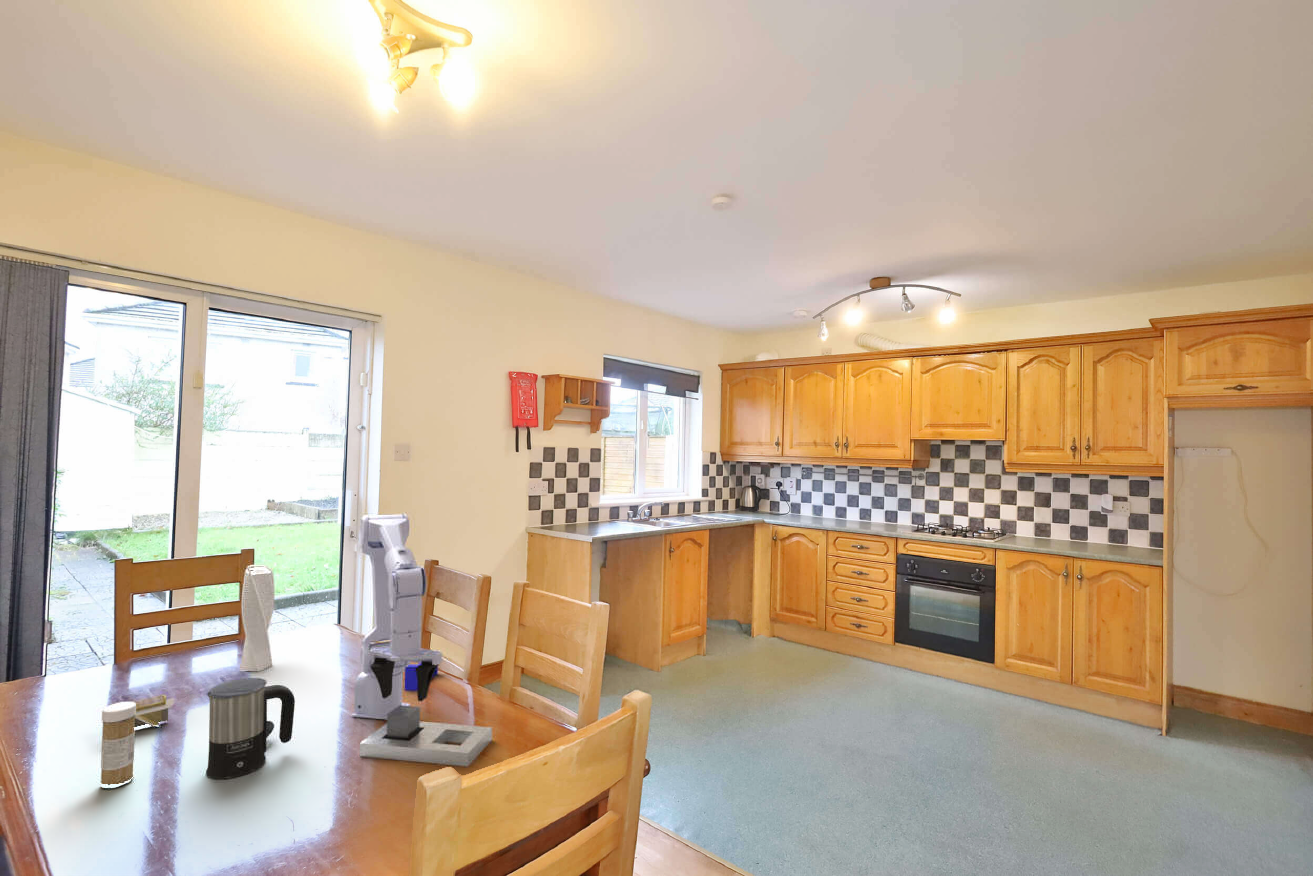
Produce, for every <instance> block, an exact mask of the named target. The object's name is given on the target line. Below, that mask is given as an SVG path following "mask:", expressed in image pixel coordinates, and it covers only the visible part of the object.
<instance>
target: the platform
mask: <svg viewBox="0 0 1313 876" xmlns="http://www.w3.org/2000/svg"><path fill="white" fill-rule="evenodd" d="M153 699H154V700H153ZM175 702H176V701H175V699H174V698H168V699H167V696H166V695H165V694H162V695H158V696H152V697H148V698H147V700H146V698H144V699H140V700H136V701H135V700H134V703H136V714H135V715H136V716H135V721H134V725H135V727H137V726H141V725H145V724H149V725H151V726H153V725H159V723H158V722H161V721H166V720H168V721H169V708H171V707H172V706H173V705H174V704H175Z"/></svg>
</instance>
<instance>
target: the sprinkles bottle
mask: <svg viewBox="0 0 1313 876" xmlns="http://www.w3.org/2000/svg"><path fill="white" fill-rule="evenodd" d="M135 714H136V702H135V701H122V702H121V701H120V702H117V703H113V704H110V705H108V706H105V707H104V708H103V709H102V711H101V721H102V736H101V739H102V740H101V751H100V752H101V753H100V769H101V772H100V773H101V774H100V783H102V784H108V785H110V784H119V783H124V782H125V781H128V780H130V779H131V778H132V777H133V776H134V761H135V741H136V740H135V736H136V735H135V734H136V731H134V727H135V725H134V721H135V716H136V715H135ZM133 778H134V777H133Z"/></svg>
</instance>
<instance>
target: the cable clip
mask: <svg viewBox="0 0 1313 876" xmlns="http://www.w3.org/2000/svg"><path fill="white" fill-rule="evenodd" d="M434 651H435V652H439V651H436V650H434ZM419 665H421V663H419V662H418V664H411V663H410V664H409V665H408V667H405V672H404V691H411V692H416V691H417V692H418V681H417V675H416V671H415V668H416V667H417V666H419ZM438 673H439V666H438V667H437V669H436V671H435V673H434V675H433V677H432V679H433V678H435V676H436V675H438Z"/></svg>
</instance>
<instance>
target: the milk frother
mask: <svg viewBox="0 0 1313 876" xmlns="http://www.w3.org/2000/svg"><path fill="white" fill-rule="evenodd" d="M267 684H268V683H267V680H266V679H264V678H260V677H259V678H257V677H246V678H238V679H233V680H230V681H226V682H221V683H219V684H217V685H214V686H213V687H211V688H210V689H209V690H208V691H207V693H206V696H207V697H208V699H209V714H208V715H209V723H208V724H209V726H208V728H209V729H208V732H209V733H208V755H207V757H208V758H207V759H208V760H207V761H208V762H207V768H206V771H205V774H206V776H207V777H208V776H209V777H208V778H212V779H215V778H217V779H216V780H221V779H223V780H225V779H226V780H227V779H232V778H237V777H241V776H244V775H248V774H249V773H251V772H254V771H256V770H257V769H259V768H261V767H262V766H263V765H264V764H265V762H266V761H267V757H266V754H265V753H266V752H267V738H268V737H269V736H270V735H271V734H272V732H273V731H274V730H275V729H274V728H275V724H274V722H273V721H271V720H268V719H267V718H268V710H267V709H268V700H272V699H279V700H280V701H281V706H280V707H281V708H280V709H281V710H280V719H279V720H280V721H279V732H278V733H279V734H278V737H279V740H280V742H281V743H283V744H287V743H289V742H290V741H291V740H292V738H293V729H294V728H293V726H294V716H295V715H294V714H295V706H296V704H295V703H296V699H295V696H294V694H293V691H292V690H291V689H289V687H287V686H285V685H282V684H281V685H280V684H274V685H273V684H271V685H267ZM266 685H267V686H266Z"/></svg>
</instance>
